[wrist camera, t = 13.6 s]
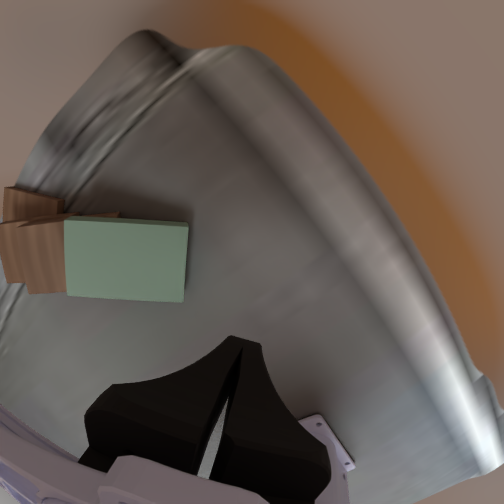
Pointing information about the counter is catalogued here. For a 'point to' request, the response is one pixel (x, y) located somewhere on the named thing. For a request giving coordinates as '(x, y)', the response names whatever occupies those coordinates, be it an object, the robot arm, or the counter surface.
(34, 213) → the walnut domino
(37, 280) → the walnut domino
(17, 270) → the walnut domino
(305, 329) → the counter surface
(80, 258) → the green domino
